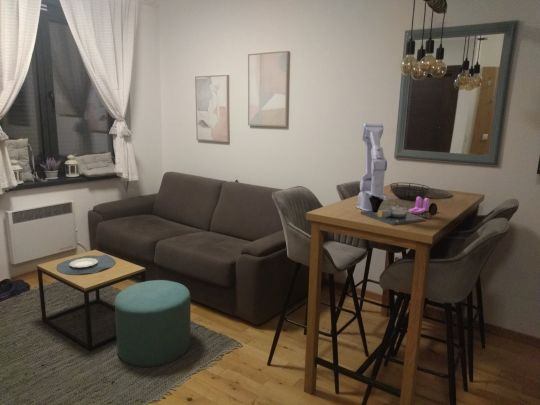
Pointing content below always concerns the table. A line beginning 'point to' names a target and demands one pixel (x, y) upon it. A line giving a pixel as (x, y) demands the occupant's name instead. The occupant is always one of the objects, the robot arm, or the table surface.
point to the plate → (393, 218)
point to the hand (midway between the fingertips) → (375, 212)
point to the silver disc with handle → (393, 212)
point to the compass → (430, 211)
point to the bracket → (418, 207)
